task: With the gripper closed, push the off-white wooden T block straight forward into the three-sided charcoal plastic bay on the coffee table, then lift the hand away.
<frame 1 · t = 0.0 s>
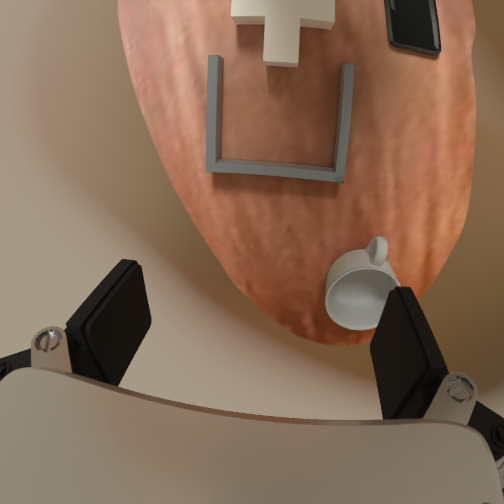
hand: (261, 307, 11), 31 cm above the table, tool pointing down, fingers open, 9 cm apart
bay: (279, 110, 35), on the table
teacup: (360, 262, 44), on the table
phone: (408, 5, 25), on the table
t block: (283, 31, 30), on the table
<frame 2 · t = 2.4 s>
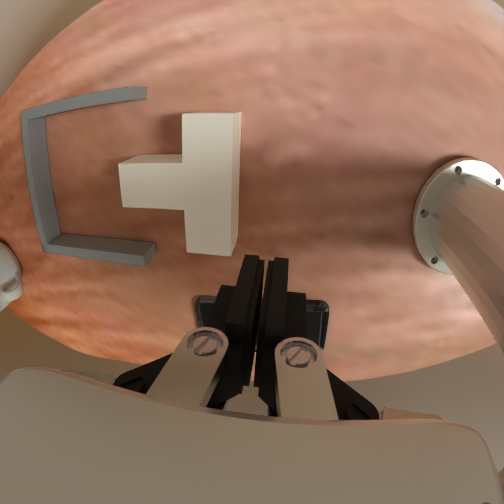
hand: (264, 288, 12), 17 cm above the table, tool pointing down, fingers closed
bay: (93, 174, 28), on the table
teacup: (15, 263, 37), on the table
phone: (262, 321, 35), on the table
t block: (186, 174, 27), on the table
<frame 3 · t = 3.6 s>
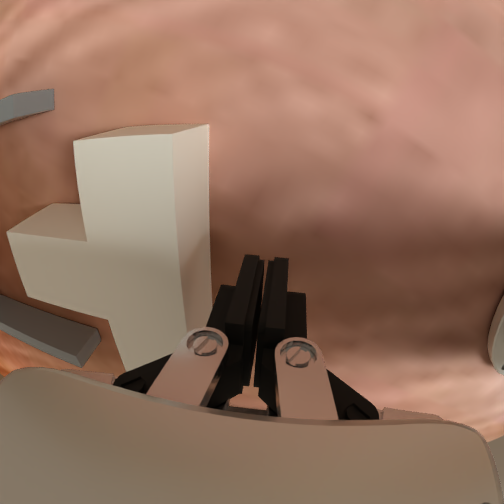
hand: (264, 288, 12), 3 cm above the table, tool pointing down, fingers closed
bay: (9, 227, 16), on the table
t block: (122, 240, 15), on the table
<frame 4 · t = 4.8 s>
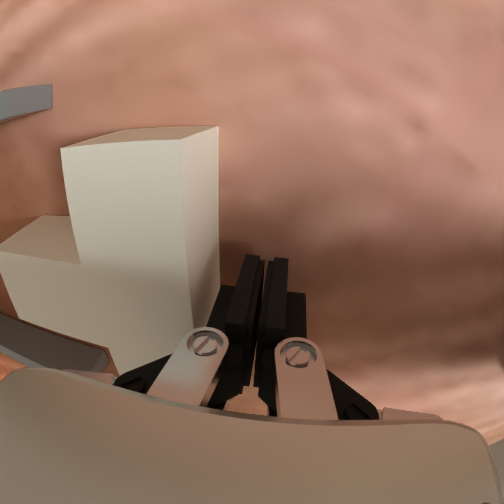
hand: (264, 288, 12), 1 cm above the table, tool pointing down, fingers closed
bay: (2, 240, 15), on the table
t block: (120, 256, 14), on the table, touching gripper
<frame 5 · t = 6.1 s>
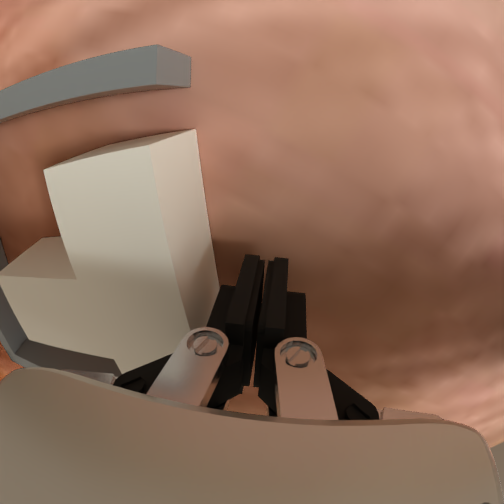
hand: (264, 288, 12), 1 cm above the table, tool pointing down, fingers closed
bay: (71, 251, 14), on the table
t block: (120, 269, 14), on the table, touching gripper
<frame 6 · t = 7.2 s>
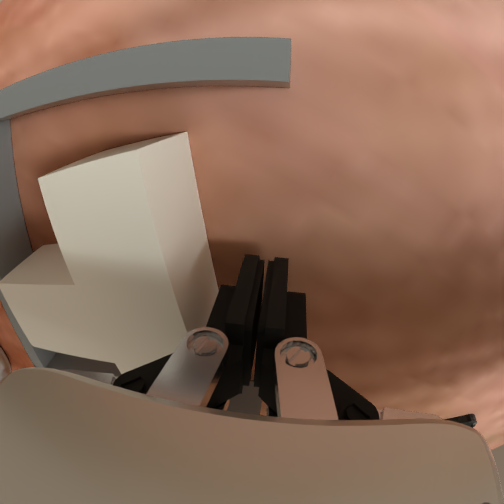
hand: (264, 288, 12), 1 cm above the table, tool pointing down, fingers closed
bay: (125, 258, 13), on the table
t block: (119, 274, 14), on the table, touching gripper
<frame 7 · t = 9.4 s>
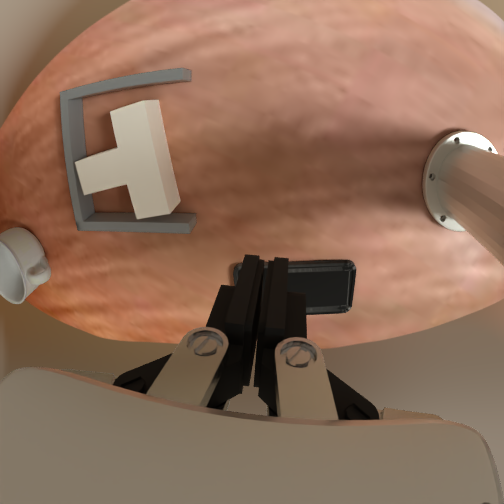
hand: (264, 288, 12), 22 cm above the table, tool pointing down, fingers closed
bay: (134, 151, 31), on the table
teacup: (38, 250, 39), on the table
phone: (295, 285, 38), on the table
t block: (130, 160, 32), on the table
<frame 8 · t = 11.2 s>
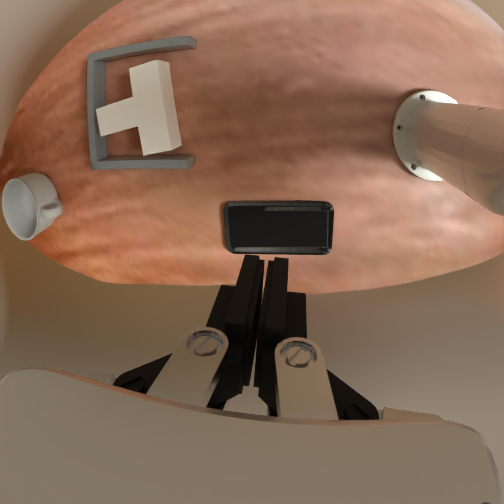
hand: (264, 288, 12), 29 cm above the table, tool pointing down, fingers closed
bay: (146, 104, 36), on the table
teacup: (52, 196, 44), on the table
phone: (279, 225, 43), on the table
t block: (142, 111, 36), on the table
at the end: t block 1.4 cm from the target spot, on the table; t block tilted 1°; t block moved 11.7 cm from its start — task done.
